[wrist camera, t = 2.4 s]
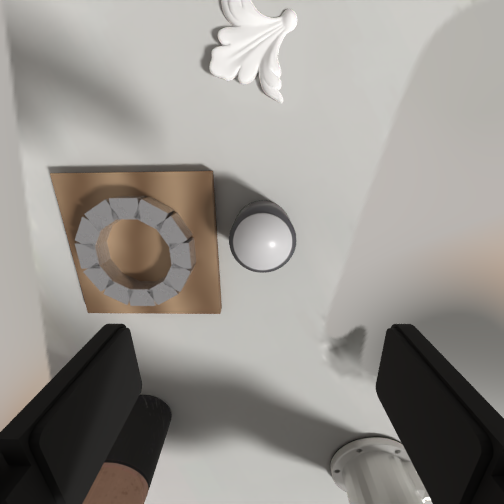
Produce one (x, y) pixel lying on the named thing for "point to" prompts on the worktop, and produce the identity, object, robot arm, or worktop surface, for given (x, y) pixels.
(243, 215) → the cap
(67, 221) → the board
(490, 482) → the robot arm
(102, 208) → the grey segmented ring
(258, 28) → the acanthus leaf ornament
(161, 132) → the worktop surface
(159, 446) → the travel mug
